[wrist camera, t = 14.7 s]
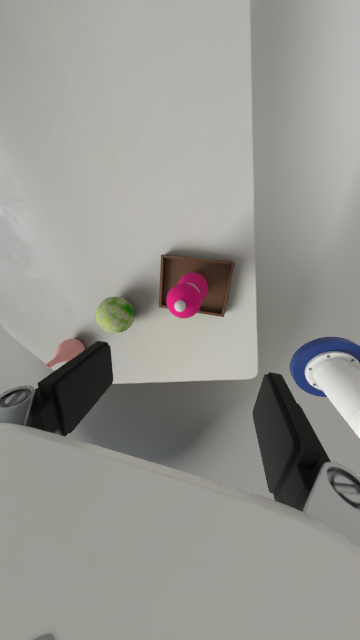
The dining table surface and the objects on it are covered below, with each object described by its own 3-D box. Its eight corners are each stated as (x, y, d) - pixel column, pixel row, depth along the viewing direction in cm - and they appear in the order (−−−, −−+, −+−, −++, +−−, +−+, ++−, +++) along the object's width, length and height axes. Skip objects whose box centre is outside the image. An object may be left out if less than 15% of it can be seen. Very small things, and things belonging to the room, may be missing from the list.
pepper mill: (207, 269, 42) (200, 280, 23) (210, 297, 44) (205, 328, 26) (179, 273, 43) (151, 286, 25) (183, 300, 46) (160, 331, 28)
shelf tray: (233, 261, 41) (234, 262, 38) (223, 313, 46) (223, 316, 43) (164, 254, 43) (161, 254, 41) (161, 304, 48) (158, 307, 46)
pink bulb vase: (65, 340, 61) (32, 360, 50) (78, 331, 58) (46, 349, 47) (79, 357, 62) (50, 379, 51) (93, 349, 59) (65, 371, 48)
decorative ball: (105, 313, 53) (82, 326, 44) (116, 287, 49) (94, 294, 40) (132, 330, 53) (115, 346, 44) (145, 305, 49) (129, 316, 40)
